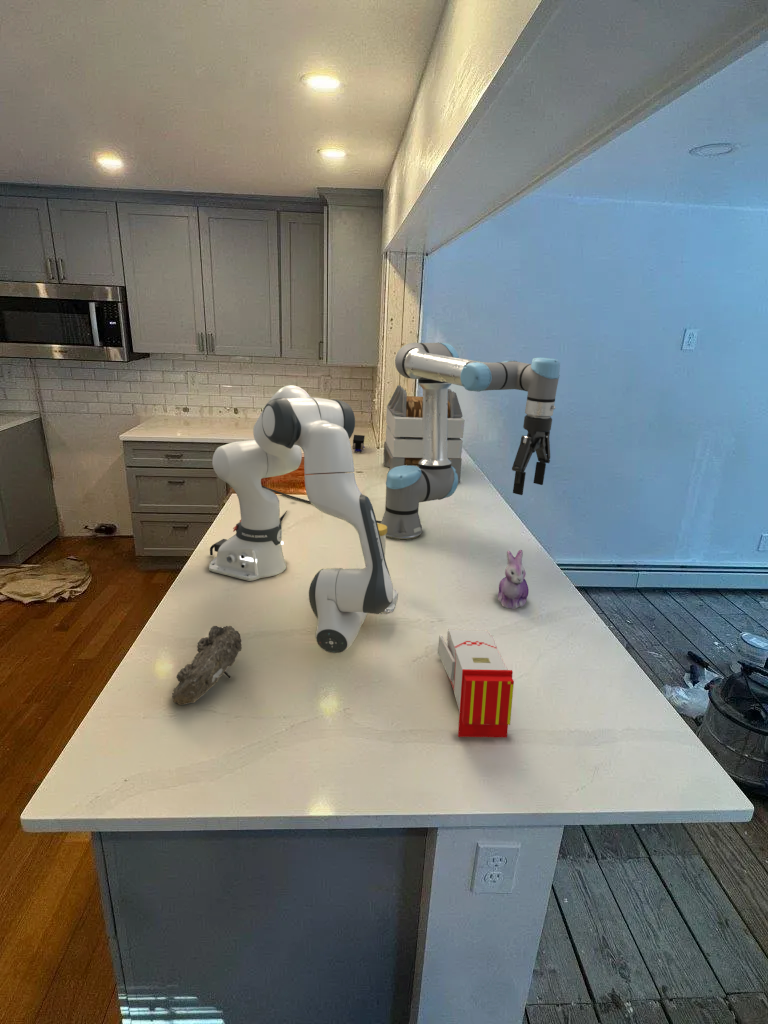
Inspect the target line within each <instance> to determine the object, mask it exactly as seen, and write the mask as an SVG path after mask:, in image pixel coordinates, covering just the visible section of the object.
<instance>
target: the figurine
mask: <svg viewBox="0 0 768 1024" xmlns="http://www.w3.org/2000/svg"><path fill="white" fill-rule="evenodd" d="M523 552H524V551H523V550H522V549H520V550H518V551H517V553H516V554H515V556H514V555H513V553H512V552H511V551H510V550H507V551H506V561H507V565H506V568H505V570H504V575H505V576H504V577H503V578H501V580H500V581H499V584H498V593H497V601H498V602H499V603H500V604H501V606H502V607H503V608H506V609H507V608H508V609H511V610H512V609H514V610H516V609H518V608H522V607H524V606H525V605H526V602H527V601H528V600H527V599H528V596H529V592H530V591H529V590H530V589H529V585H528V582H527V580H526V575H527V574H526V573H527V571H526V570H525V566H524V565H523V555H524V554H523Z"/></svg>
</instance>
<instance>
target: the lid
mask: <svg viewBox="0 0 768 1024" xmlns="http://www.w3.org/2000/svg"><path fill="white" fill-rule="evenodd" d="M377 525H378V530H379V534H380V536H382V535H385V534H386V533H387V526H386V525H384V524H380V523H377Z"/></svg>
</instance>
